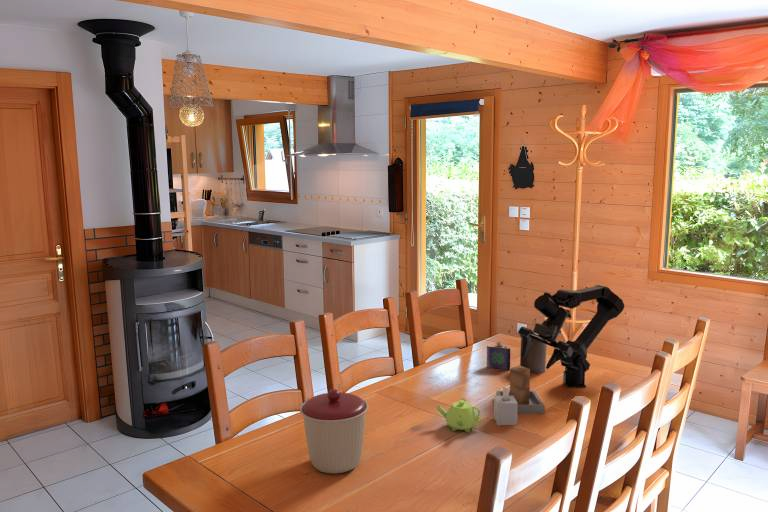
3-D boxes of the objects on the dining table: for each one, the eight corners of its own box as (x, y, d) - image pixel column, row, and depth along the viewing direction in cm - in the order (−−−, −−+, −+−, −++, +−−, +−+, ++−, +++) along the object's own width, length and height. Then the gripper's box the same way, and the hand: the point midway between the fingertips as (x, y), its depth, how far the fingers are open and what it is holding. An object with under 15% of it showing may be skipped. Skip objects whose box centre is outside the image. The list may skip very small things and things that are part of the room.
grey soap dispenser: (512, 416, 194) (513, 383, 192) (517, 424, 188) (517, 390, 187) (493, 416, 194) (494, 383, 192) (497, 425, 188) (498, 390, 187)
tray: (534, 397, 209) (534, 390, 209) (544, 413, 196) (544, 405, 196) (496, 398, 209) (496, 390, 209) (503, 414, 196) (503, 406, 196)
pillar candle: (518, 372, 234) (520, 334, 231) (520, 364, 243) (522, 327, 240) (545, 375, 231) (546, 337, 228) (546, 366, 240) (547, 329, 238)
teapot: (487, 429, 185) (488, 403, 184) (458, 439, 179) (458, 412, 178) (463, 416, 195) (463, 391, 193) (435, 425, 188) (435, 399, 187)
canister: (334, 442, 178) (333, 373, 175) (383, 461, 167) (382, 387, 163) (287, 467, 164) (284, 392, 161) (336, 489, 153) (334, 409, 149)
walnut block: (518, 399, 206) (519, 365, 204) (529, 403, 202) (530, 368, 200) (509, 403, 203) (510, 368, 201) (520, 407, 199) (521, 372, 197)
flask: (485, 368, 239) (486, 341, 238) (487, 365, 242) (488, 339, 240) (509, 371, 235) (509, 344, 234) (511, 369, 238) (511, 342, 236)
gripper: (523, 305, 211) (502, 345, 208) (573, 323, 199) (552, 366, 196) (532, 317, 219) (513, 356, 216) (581, 335, 207) (561, 377, 204)
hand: (534, 363), depth 208 cm, fingers open, 9 cm apart
